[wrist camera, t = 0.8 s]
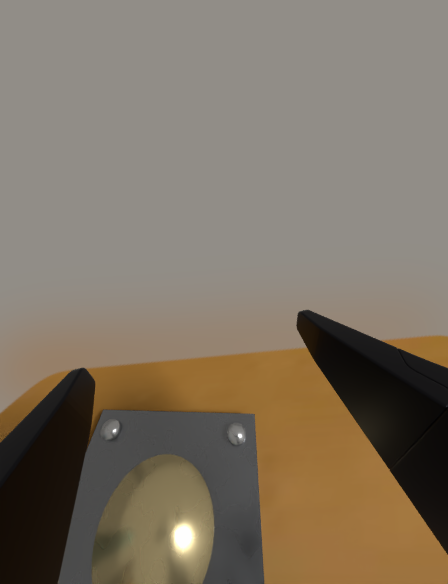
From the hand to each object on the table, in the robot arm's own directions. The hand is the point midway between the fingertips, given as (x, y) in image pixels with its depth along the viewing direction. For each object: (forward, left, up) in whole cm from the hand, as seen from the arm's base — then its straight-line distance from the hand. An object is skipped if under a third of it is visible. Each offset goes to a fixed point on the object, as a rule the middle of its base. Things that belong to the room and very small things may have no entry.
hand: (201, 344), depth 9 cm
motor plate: (-6, +5, -16) cm, 18 cm away
